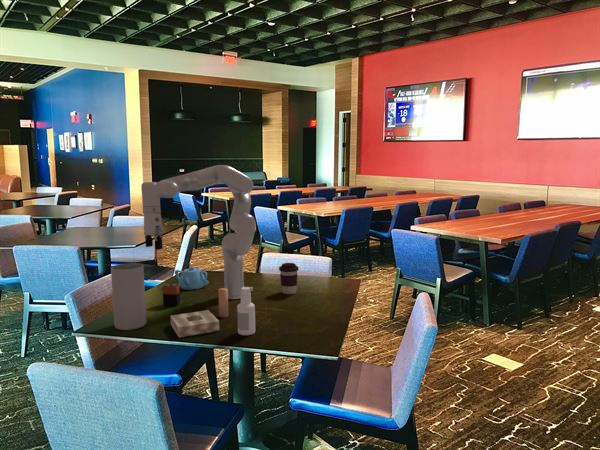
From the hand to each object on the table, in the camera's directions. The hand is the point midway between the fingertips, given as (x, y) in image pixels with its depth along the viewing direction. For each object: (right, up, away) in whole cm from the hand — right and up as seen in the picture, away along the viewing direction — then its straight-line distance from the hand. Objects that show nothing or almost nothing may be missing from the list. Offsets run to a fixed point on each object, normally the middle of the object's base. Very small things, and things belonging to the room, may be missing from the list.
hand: (154, 247), depth 213 cm
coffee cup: (+60, -25, +31) cm, 72 cm away
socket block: (+23, -32, -20) cm, 44 cm away
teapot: (+7, -24, +44) cm, 50 cm away
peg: (+32, -30, -5) cm, 44 cm away
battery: (+5, -28, +12) cm, 31 cm away
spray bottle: (+45, -32, -26) cm, 61 cm away
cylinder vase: (-5, -32, -17) cm, 36 cm away
